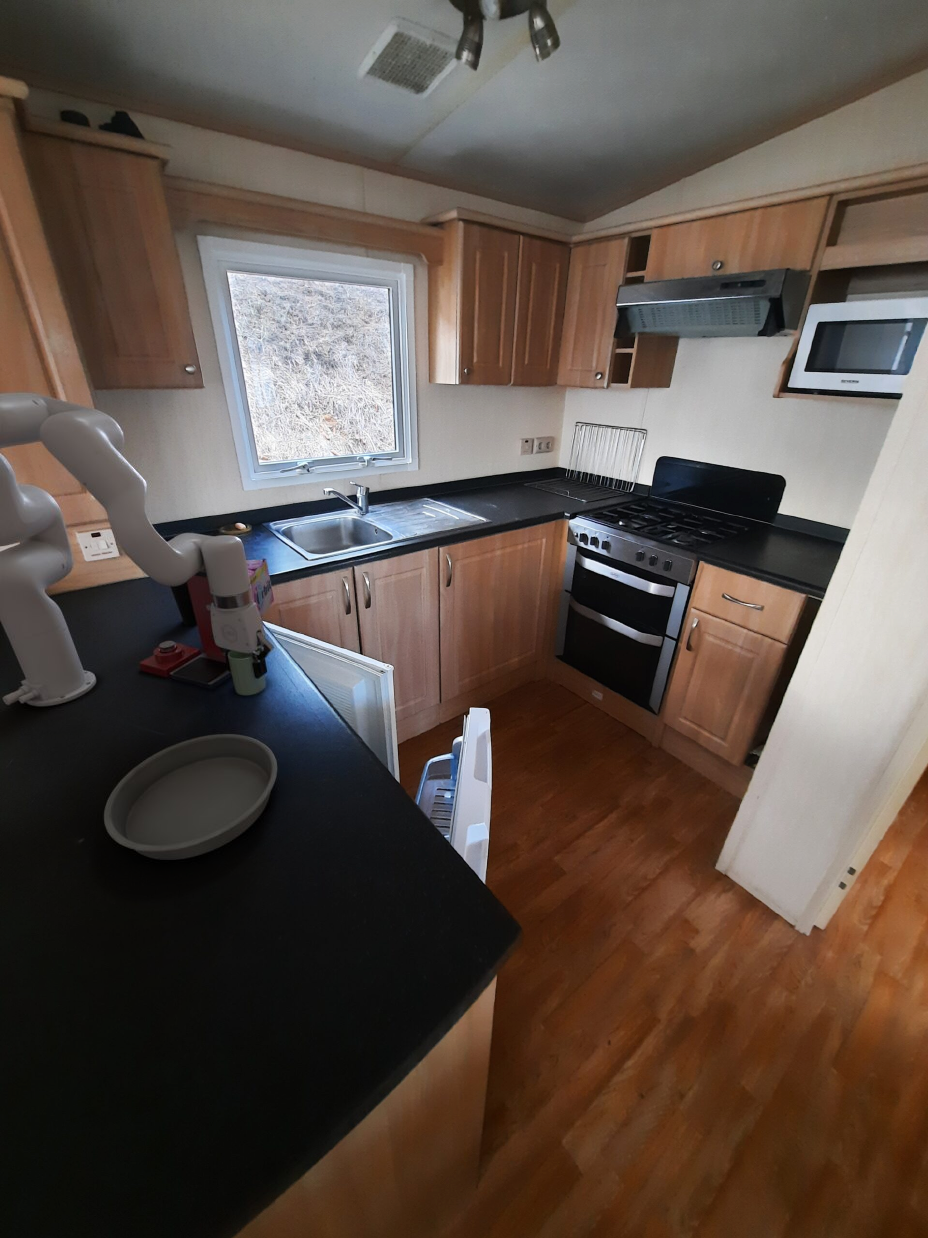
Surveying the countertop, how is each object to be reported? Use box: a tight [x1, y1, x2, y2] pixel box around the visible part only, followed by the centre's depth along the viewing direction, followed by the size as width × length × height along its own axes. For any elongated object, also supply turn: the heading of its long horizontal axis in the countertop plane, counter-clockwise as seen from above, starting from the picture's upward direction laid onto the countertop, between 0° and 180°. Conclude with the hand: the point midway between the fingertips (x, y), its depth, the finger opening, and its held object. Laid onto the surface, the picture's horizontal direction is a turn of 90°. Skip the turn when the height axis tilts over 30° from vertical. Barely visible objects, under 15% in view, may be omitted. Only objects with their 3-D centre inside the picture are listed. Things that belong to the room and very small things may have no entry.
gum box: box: [246, 558, 275, 618], centre depth 141 cm, size 24×8×14 cm, turn 2°
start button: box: [158, 640, 176, 654], centre depth 119 cm, size 3×3×2 cm
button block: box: [138, 642, 202, 678], centre depth 120 cm, size 10×8×4 cm
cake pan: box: [103, 733, 278, 861], centre depth 81 cm, size 25×25×4 cm
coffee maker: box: [169, 569, 232, 690], centre depth 114 cm, size 15×12×23 cm
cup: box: [228, 649, 267, 696], centre depth 110 cm, size 6×6×9 cm
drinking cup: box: [169, 582, 197, 626], centre depth 136 cm, size 8×8×20 cm
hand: (247, 671), depth 111 cm, fingers closed on cup, 6 cm apart
